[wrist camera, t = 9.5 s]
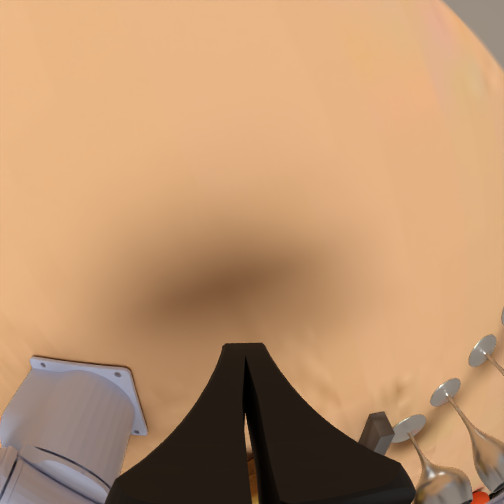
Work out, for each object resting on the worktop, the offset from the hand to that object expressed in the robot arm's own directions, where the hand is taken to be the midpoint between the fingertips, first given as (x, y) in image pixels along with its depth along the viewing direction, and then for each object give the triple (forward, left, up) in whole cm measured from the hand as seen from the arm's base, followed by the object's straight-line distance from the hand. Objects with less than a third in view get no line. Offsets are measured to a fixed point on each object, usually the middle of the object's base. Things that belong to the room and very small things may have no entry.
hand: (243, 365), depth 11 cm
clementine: (+54, -60, -10) cm, 81 cm away
